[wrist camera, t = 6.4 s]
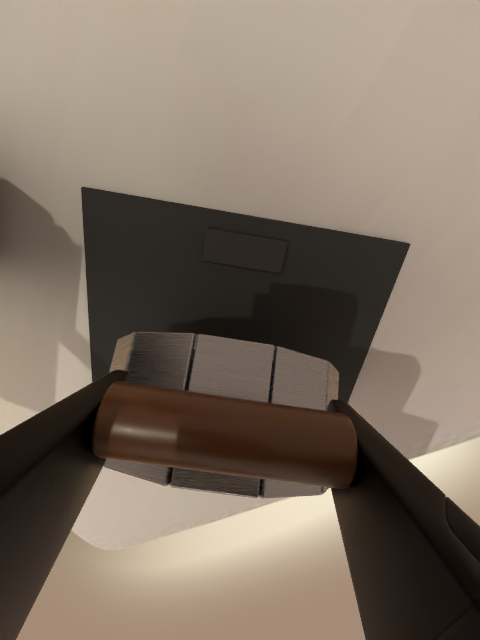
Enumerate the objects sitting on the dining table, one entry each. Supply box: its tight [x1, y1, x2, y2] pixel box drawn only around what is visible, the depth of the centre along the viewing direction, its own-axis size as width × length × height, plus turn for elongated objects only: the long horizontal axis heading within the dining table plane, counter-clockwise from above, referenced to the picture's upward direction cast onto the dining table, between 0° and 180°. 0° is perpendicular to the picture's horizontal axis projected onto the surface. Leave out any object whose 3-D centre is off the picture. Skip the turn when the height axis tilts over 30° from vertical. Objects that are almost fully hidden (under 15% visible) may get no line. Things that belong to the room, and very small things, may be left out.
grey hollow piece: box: [92, 332, 358, 498], centre depth 14 cm, size 11×14×5 cm
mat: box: [81, 187, 410, 403], centre depth 21 cm, size 20×18×2 cm
